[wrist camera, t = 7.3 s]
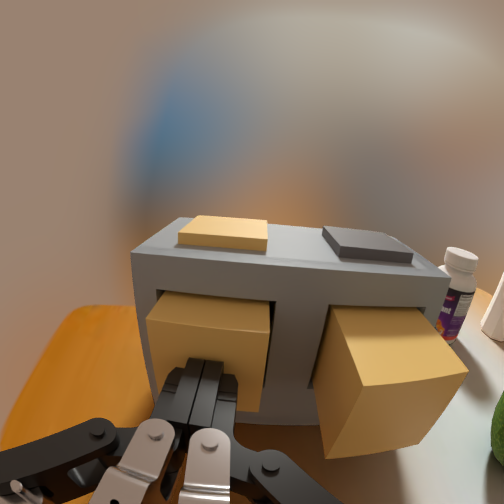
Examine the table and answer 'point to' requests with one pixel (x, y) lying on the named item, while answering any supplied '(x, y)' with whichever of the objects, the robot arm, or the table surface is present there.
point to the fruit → (498, 431)
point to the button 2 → (381, 379)
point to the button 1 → (212, 338)
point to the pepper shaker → (495, 315)
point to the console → (283, 290)
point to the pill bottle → (456, 292)
